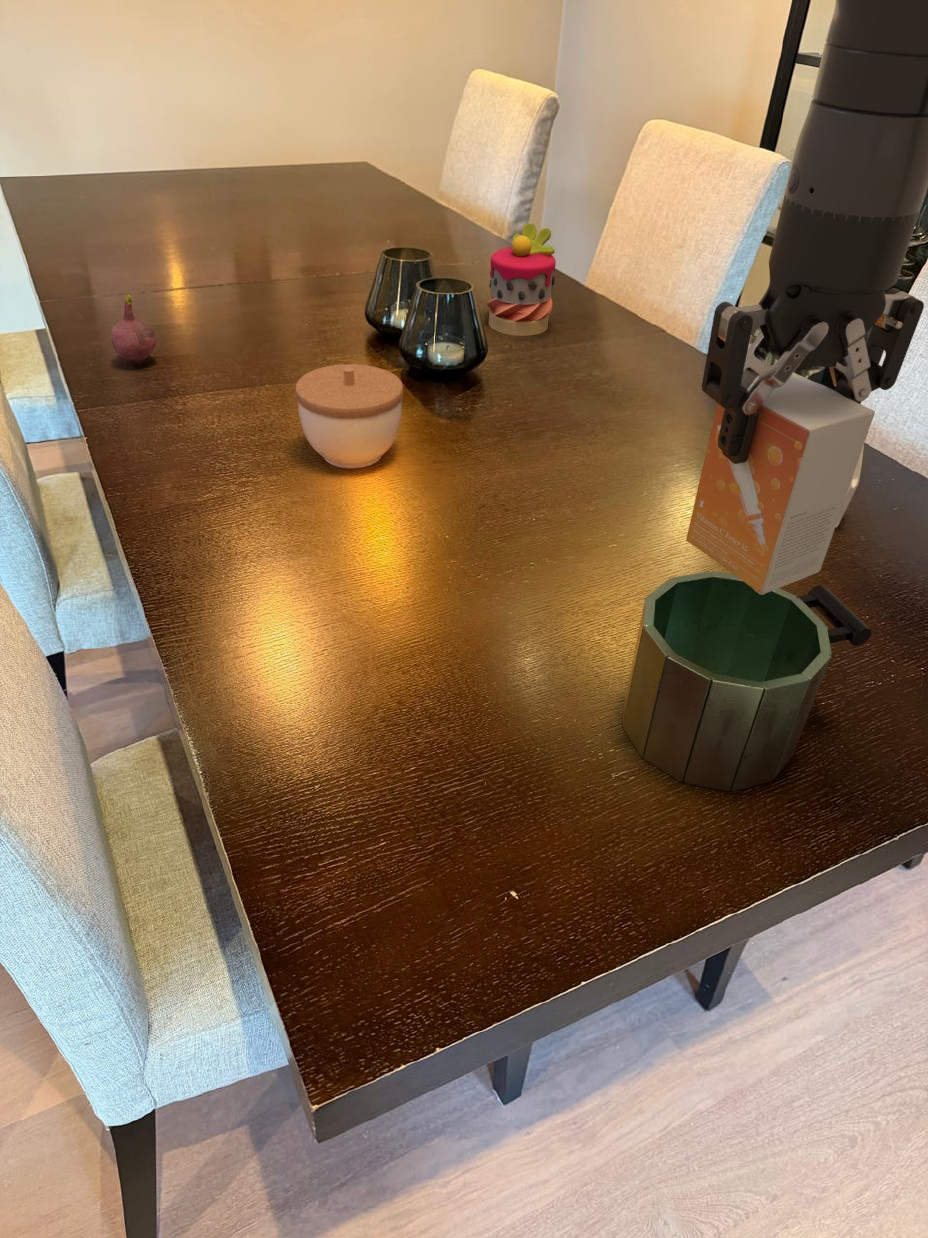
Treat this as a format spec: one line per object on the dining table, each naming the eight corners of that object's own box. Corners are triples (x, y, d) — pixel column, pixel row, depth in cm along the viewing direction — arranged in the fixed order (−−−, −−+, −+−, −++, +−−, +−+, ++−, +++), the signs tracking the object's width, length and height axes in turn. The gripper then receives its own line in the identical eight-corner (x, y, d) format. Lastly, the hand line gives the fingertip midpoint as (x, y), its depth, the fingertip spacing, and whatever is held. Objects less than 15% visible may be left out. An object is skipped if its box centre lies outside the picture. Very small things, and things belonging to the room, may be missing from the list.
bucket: (596, 687, 79) (768, 652, 84) (672, 806, 69) (863, 759, 73) (614, 587, 72) (800, 555, 77) (701, 703, 62) (910, 658, 67)
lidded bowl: (414, 473, 107) (414, 387, 101) (309, 485, 104) (302, 396, 98) (391, 426, 117) (390, 344, 110) (294, 436, 114) (286, 352, 107)
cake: (544, 340, 143) (554, 241, 133) (480, 331, 144) (485, 234, 135) (554, 317, 151) (564, 223, 141) (493, 310, 152) (499, 216, 143)
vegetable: (144, 375, 126) (131, 305, 120) (107, 368, 128) (91, 298, 121) (168, 359, 131) (156, 290, 125) (132, 353, 132) (118, 284, 126)
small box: (683, 542, 69) (718, 381, 61) (743, 521, 71) (785, 364, 63) (760, 598, 63) (811, 429, 55) (822, 573, 66) (879, 409, 58)
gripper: (783, 217, 47) (717, 492, 57) (1000, 205, 51) (902, 465, 61) (710, 183, 53) (662, 439, 63) (911, 174, 56) (835, 417, 66)
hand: (781, 451), depth 62 cm, fingers closed on small box, 7 cm apart
